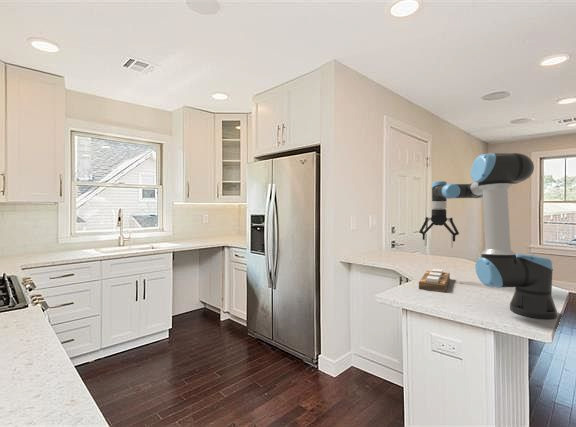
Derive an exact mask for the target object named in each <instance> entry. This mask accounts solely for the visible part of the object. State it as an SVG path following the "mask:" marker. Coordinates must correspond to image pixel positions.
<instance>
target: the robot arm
mask: <svg viewBox="0 0 576 427" xmlns="http://www.w3.org/2000/svg"><path fill="white" fill-rule="evenodd" d="M534 171H535V164H534V161H533V160H532V159H531V158H530V157H529V156H527V155H526V154H522V153H519V152H513V153H510V152H509V153H505V152H504V153H503V152H500V153H499V152H498V153H497V152H490V153H482V154H480V155H478V156H477V157H476V158H475V160H474V161H473V163H472V165H471V169H470V178H471V179H472V181H473V182H470V183H448V182H447V181H445V180H437V181H433V182H432V183H431V216H430V217H428V216H426V217H425V219H424V220H425V221H424V222H423V224H422V226H421V228H420V229H419V231H418V232H419V234H422V241H424V247H426V246H427V245H428V244H427V243H428V242H427V240H428V239H427V238H428V236H427V232H428V231H429V230H430V229H431V228H433V226H434V225H435V226H443V227H445V228H446V230H448V232H449V233H450V234H451V235H450V248H453V247H454V242H456V236H459V234H460V233H459V230H458V229H457V226H456V225H455V222H454V220H453V217H447V200H448V199H450V200H451V199H482V205H483V220H484V222H483V224H484V225H483V227H484V243H485V244H484V245H485V246H484V247H485V249H484V250H483V251H482V252H480V253H481V257H479V258H478V259H477V260H476V261H475V262H476V263H475V265H474V266H475V273H476V275H477V277H478V279H479V281H480V283H482V284H483V285H484V286H486V287H488V288H496V289H497V288H498V289H500V288H515V289H514V291H515V292H514V293H513V296H512V298H511V301H510V303H509V310H510V311H511V312H513V313H515V314H517V315H521V316H524V317H528V318H533V319H541V320H542V319H543V320H551V319H556V318H557V317H558V310H557V308H556V307H557V306H556V304H555V301H554V299H553V295H552V292H553V291H552V290H553V289H552V287H553V271H554V270H553V262H552V259H550V258H547V257H544V256H540V255H534V254H526V253H515V252H514V250H512V246H511V231H510V230H511V229H510V210H509V196H508V195H509V192H508V190H509V189H510V187H511V186H512V185H516V184H519V183H521V182H525V181H526V180H528V179H530V177H531V176H532V175H533V174H534ZM447 221H448V222H449V223H450V224H451V227H452V228H453V229H452V228H451V227H450V226H449V225H448V224H447ZM428 222H431V224H429V226H428V227H426V226H427V224H428ZM425 228H426V229H425ZM453 230H454V231H453Z"/></svg>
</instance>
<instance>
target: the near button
mask: <svg viewBox="0 0 576 427" xmlns="http://www.w3.org/2000/svg"><path fill="white" fill-rule="evenodd" d="M427 282H430V283H439V277H434V276H428V277H427Z"/></svg>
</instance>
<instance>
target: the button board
mask: <svg viewBox="0 0 576 427" xmlns="http://www.w3.org/2000/svg"><path fill="white" fill-rule="evenodd" d="M431 271H432V270H426V272H425V273H424V274H423V276H422V277H421V279H420V280H419V281H418V290H424V291H432V292H438V293H439V292H441V293H446V291H447V287H448V285H449V282H450V278H451V276H450V274H451V273H450V272H444V271H443V275H441V279H439V283H430V282H427V277H428V276H429V274H430V272H431Z"/></svg>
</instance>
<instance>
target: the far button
mask: <svg viewBox="0 0 576 427" xmlns="http://www.w3.org/2000/svg"><path fill="white" fill-rule="evenodd" d="M430 271H431V272H434V273H441V275H443V272H444V269H442V268H441V269H439V268H438V269H437V268H432V269H431V270H430Z"/></svg>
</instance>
